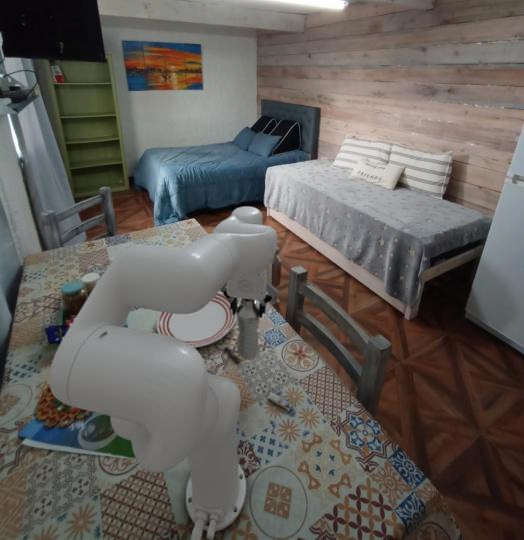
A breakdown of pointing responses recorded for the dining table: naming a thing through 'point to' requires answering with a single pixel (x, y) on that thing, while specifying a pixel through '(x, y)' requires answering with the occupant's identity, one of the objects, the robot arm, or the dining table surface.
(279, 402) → the granola bar
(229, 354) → the walnut chopstick
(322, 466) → the dining table surface
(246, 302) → the plastic bottle
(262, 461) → the dining table surface
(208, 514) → the robot arm
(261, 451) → the dining table surface
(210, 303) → the dinner plate
